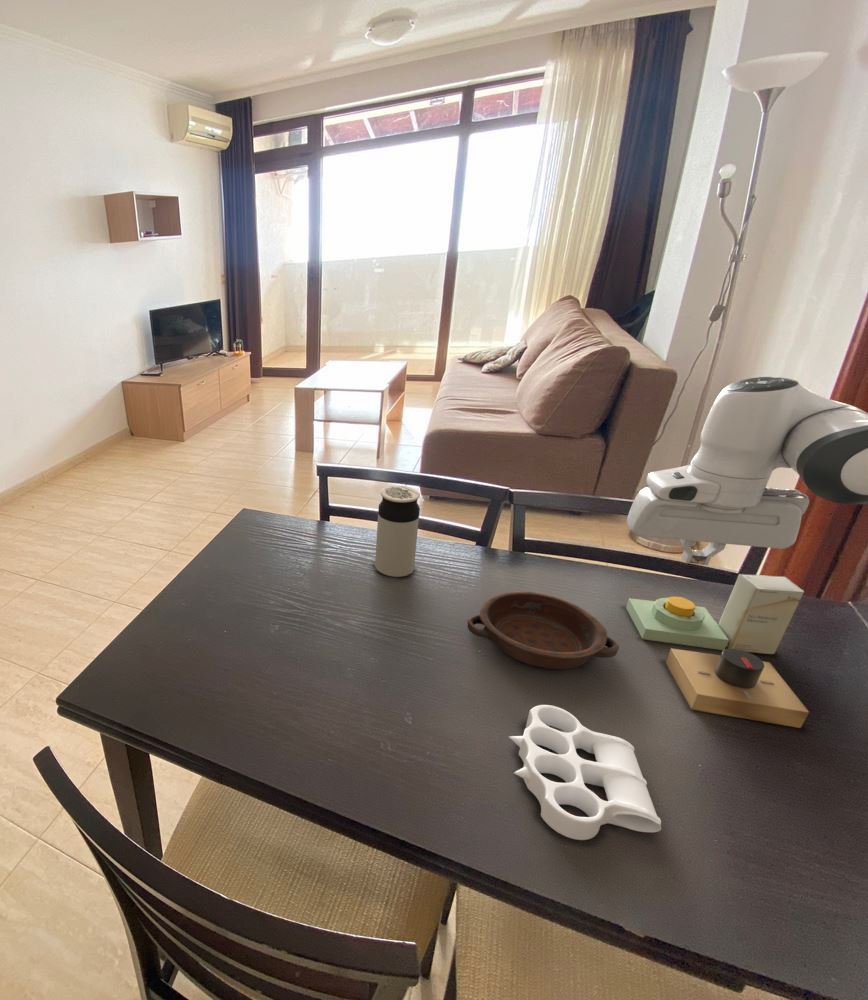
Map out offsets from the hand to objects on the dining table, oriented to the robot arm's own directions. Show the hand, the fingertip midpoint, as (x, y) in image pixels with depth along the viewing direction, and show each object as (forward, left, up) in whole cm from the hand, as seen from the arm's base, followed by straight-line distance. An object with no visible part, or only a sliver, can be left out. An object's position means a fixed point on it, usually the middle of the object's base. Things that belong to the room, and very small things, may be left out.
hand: (694, 562), depth 87 cm
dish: (+22, +10, -13) cm, 28 cm away
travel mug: (+46, -9, -13) cm, 49 cm away
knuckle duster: (+22, +37, -13) cm, 45 cm away
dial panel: (-2, +15, -13) cm, 20 cm away
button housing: (0, 0, -13) cm, 13 cm away
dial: (-2, +15, -10) cm, 18 cm away
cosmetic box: (-9, +2, -13) cm, 16 cm away
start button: (0, 0, -10) cm, 10 cm away
